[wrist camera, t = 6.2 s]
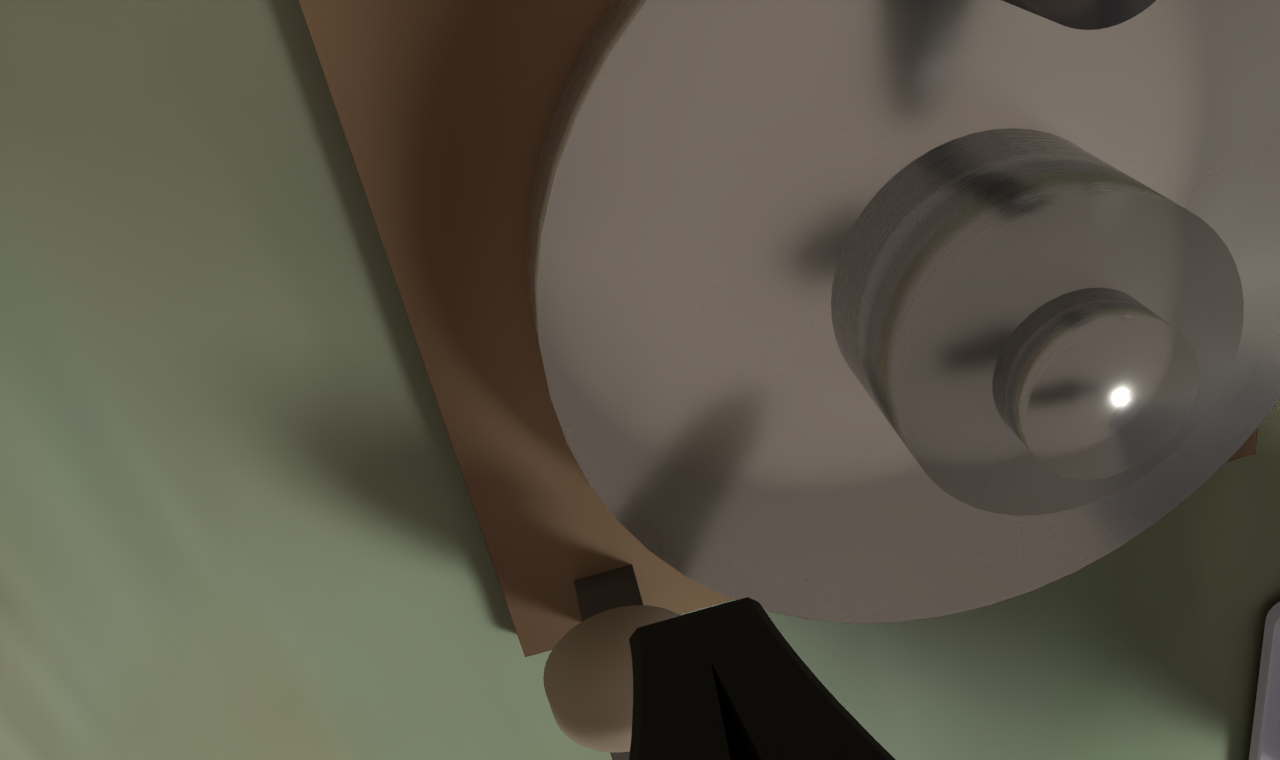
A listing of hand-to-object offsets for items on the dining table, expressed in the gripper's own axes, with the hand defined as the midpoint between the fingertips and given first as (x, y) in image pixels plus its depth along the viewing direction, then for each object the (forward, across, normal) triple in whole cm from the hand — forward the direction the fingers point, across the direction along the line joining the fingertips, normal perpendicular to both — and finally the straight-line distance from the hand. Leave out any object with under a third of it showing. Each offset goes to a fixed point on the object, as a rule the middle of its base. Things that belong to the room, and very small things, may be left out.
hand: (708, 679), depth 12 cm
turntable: (+9, -6, 0) cm, 11 cm away
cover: (+7, -6, 0) cm, 9 cm away
